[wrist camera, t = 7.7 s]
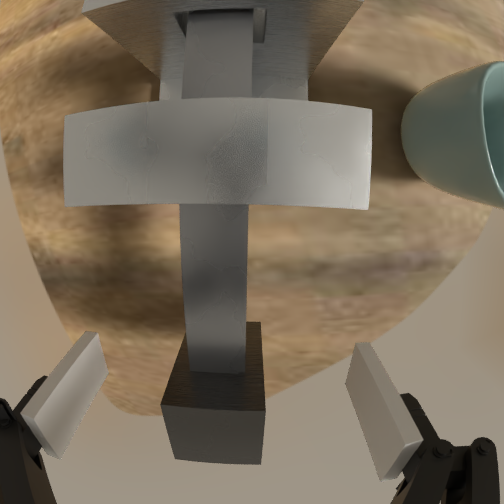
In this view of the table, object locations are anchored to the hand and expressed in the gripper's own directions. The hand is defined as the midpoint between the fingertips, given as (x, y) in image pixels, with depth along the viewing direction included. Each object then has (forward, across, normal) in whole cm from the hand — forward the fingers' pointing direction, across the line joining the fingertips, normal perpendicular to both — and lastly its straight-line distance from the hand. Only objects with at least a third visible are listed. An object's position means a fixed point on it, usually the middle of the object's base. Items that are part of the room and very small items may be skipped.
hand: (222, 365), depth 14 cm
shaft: (+3, 0, +7) cm, 8 cm away
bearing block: (+8, 0, +13) cm, 15 cm away
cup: (+8, +14, +12) cm, 20 cm away
